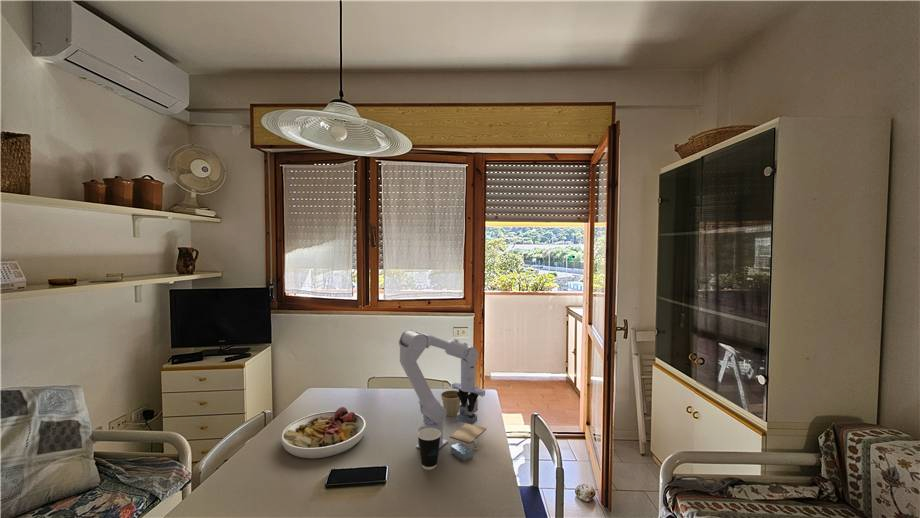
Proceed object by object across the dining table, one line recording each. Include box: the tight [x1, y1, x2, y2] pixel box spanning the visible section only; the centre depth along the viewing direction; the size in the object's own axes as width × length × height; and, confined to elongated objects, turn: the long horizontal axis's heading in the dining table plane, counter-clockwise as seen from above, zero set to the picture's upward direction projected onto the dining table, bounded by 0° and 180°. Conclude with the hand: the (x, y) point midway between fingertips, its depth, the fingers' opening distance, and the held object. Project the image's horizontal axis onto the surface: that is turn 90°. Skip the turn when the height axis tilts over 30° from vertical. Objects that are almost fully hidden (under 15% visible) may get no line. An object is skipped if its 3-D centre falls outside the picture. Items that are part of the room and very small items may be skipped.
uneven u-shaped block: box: [456, 398, 479, 425], centre depth 149 cm, size 11×7×5 cm, turn 145°
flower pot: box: [440, 389, 461, 417], centre depth 167 cm, size 9×9×9 cm
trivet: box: [449, 423, 487, 444], centre depth 150 cm, size 13×9×1 cm
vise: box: [450, 438, 479, 462], centre depth 136 cm, size 9×7×4 cm
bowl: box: [281, 406, 367, 459], centre depth 145 cm, size 30×30×8 cm
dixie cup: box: [417, 428, 441, 471], centre depth 128 cm, size 8×8×11 cm
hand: (468, 410), depth 150 cm, fingers closed on uneven u-shaped block, 2 cm apart
